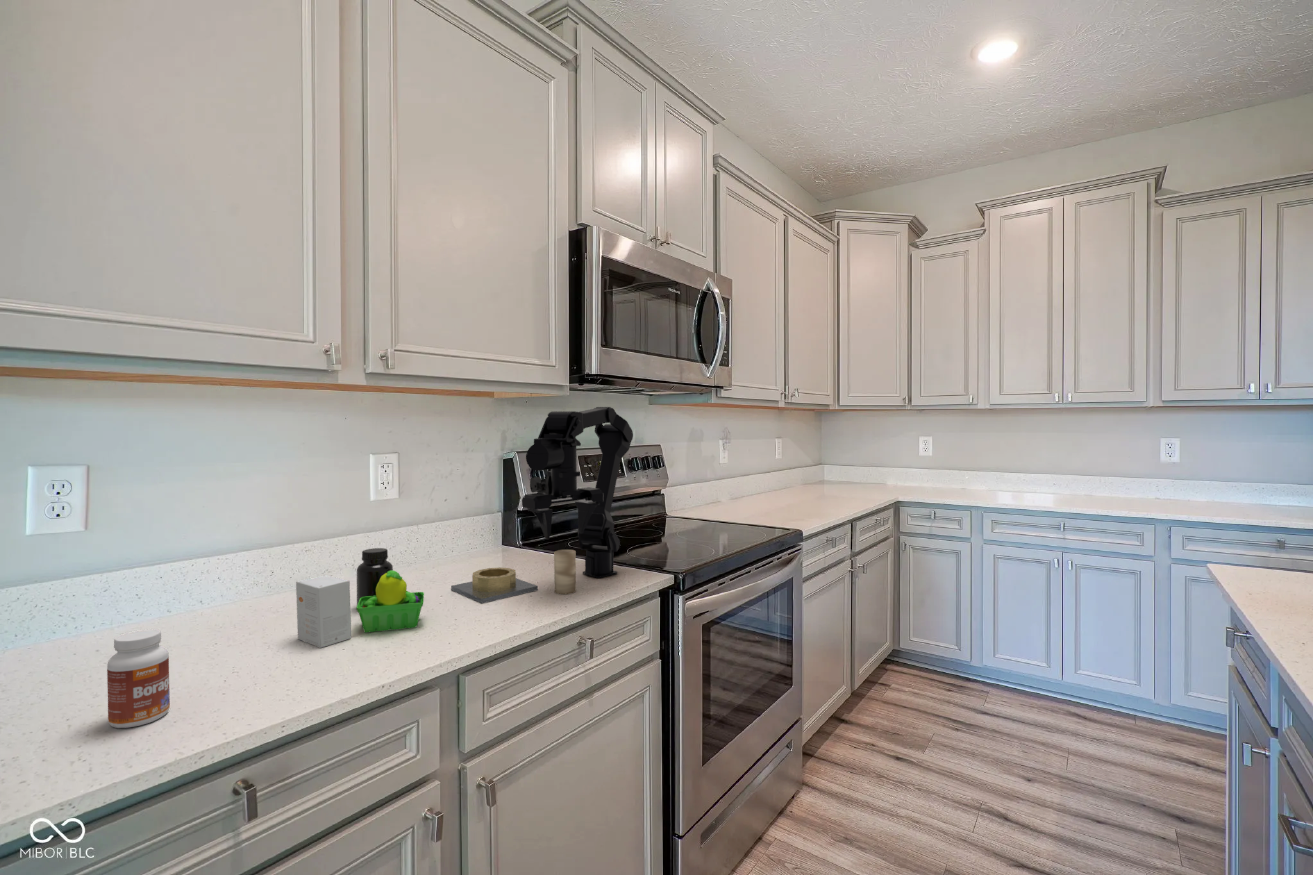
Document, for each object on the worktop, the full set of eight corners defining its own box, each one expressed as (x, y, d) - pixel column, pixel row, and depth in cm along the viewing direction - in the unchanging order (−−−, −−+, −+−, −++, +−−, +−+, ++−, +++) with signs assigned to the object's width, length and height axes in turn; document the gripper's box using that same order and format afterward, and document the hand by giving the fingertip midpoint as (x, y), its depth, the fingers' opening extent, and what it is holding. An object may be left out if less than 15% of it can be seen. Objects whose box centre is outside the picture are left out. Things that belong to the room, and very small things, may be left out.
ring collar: (505, 578, 148) (505, 562, 148) (537, 590, 138) (537, 572, 138) (451, 590, 138) (450, 572, 138) (481, 603, 128) (481, 584, 128)
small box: (352, 639, 108) (350, 580, 107) (319, 648, 103) (318, 587, 103) (328, 630, 112) (327, 573, 112) (296, 639, 108) (295, 580, 107)
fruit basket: (424, 616, 120) (423, 559, 120) (423, 631, 112) (422, 570, 111) (361, 622, 116) (359, 564, 116) (355, 638, 108) (354, 576, 108)
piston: (567, 587, 140) (567, 548, 140) (580, 591, 137) (579, 551, 137) (550, 591, 137) (549, 551, 137) (562, 595, 134) (562, 555, 133)
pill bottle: (136, 731, 76) (133, 644, 76) (95, 728, 77) (92, 641, 77) (182, 708, 82) (180, 627, 82) (143, 705, 83) (141, 625, 83)
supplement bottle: (383, 613, 122) (382, 553, 121) (350, 612, 122) (349, 553, 122) (399, 602, 129) (398, 546, 128) (367, 602, 129) (366, 546, 128)
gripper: (575, 462, 148) (576, 525, 149) (508, 467, 135) (509, 536, 136) (604, 465, 140) (605, 532, 141) (535, 470, 127) (536, 544, 128)
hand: (564, 535), depth 137 cm, fingers open, 9 cm apart
